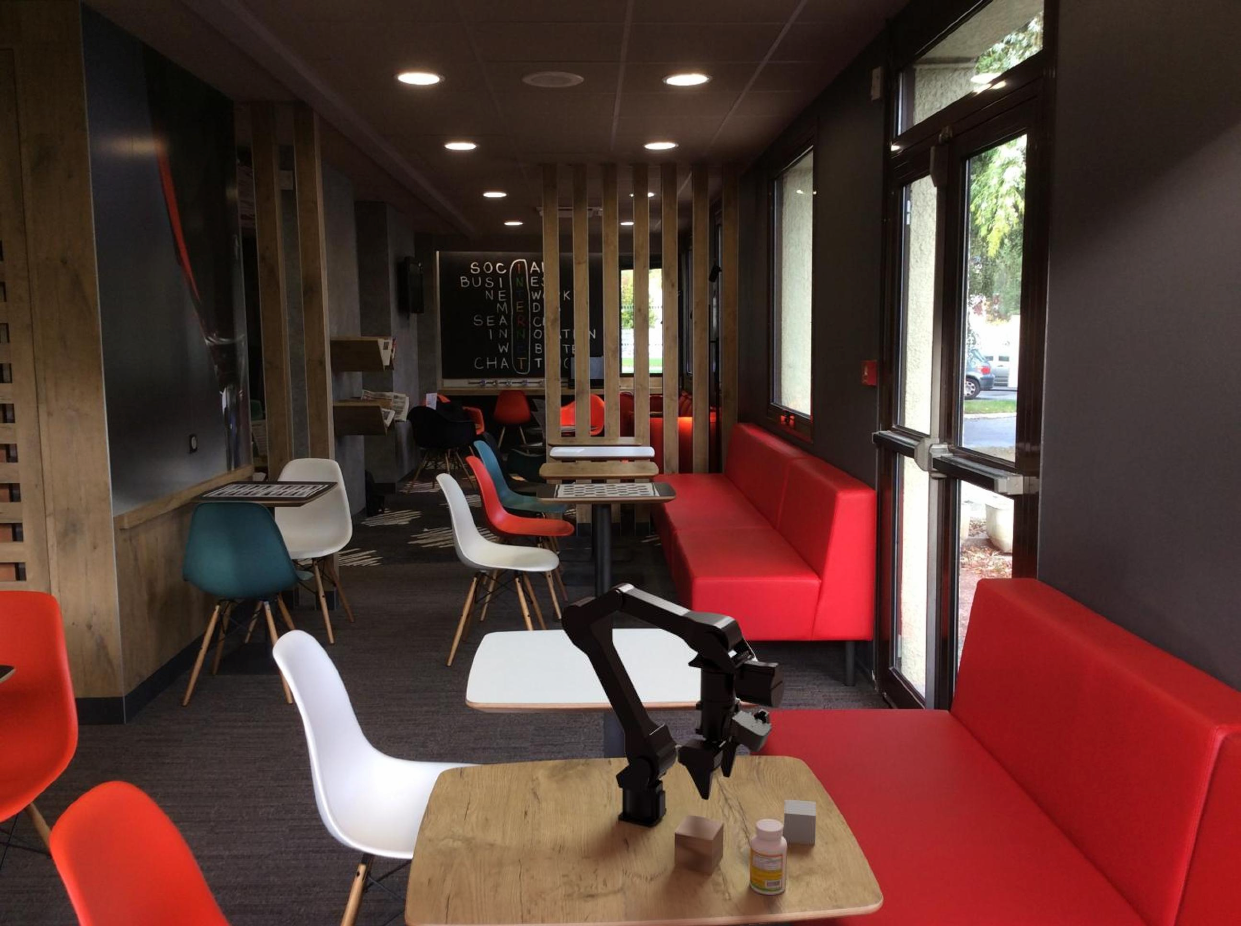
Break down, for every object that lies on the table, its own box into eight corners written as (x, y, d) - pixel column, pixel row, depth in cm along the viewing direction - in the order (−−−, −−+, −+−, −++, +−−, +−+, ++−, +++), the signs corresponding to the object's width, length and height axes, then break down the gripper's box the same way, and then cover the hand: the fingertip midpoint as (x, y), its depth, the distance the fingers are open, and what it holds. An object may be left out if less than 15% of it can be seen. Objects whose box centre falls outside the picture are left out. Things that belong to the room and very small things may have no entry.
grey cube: (783, 842, 169) (784, 812, 168) (784, 827, 173) (785, 799, 173) (814, 844, 168) (815, 815, 167) (815, 830, 173) (815, 801, 172)
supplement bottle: (762, 872, 159) (763, 812, 158) (792, 884, 156) (794, 823, 154) (742, 887, 155) (744, 825, 154) (774, 899, 152) (775, 837, 150)
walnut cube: (687, 814, 165) (686, 849, 166) (674, 830, 160) (674, 867, 161) (723, 821, 163) (723, 857, 164) (712, 838, 158) (711, 875, 158)
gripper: (744, 724, 155) (742, 823, 157) (784, 686, 172) (782, 775, 174) (676, 711, 160) (675, 807, 163) (721, 675, 177) (720, 762, 179)
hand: (716, 787), depth 169 cm, fingers open, 9 cm apart
